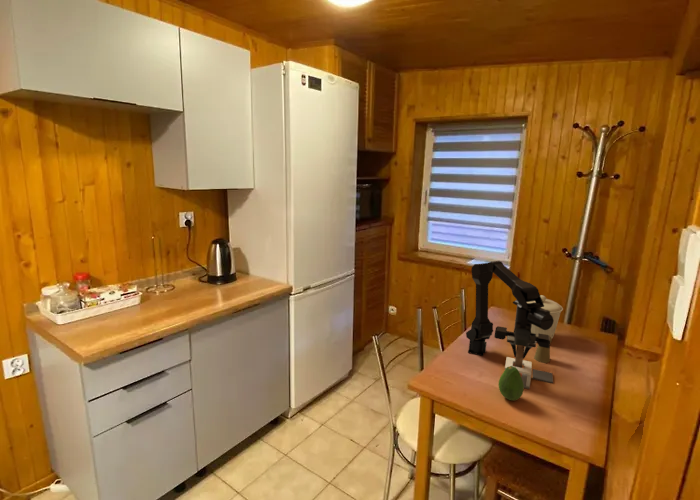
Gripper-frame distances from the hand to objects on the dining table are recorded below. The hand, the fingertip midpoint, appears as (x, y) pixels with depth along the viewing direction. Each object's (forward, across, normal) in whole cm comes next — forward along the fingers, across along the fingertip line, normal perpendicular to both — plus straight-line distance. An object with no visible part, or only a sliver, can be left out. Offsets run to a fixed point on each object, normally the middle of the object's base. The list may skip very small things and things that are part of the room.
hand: (519, 357), depth 147 cm
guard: (+10, 0, 0) cm, 10 cm away
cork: (+10, +9, +22) cm, 26 cm away
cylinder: (+5, 0, 0) cm, 5 cm away
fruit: (+10, -2, -14) cm, 17 cm away
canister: (+10, +7, +44) cm, 46 cm away
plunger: (+7, 0, 0) cm, 7 cm away
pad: (+10, +9, +7) cm, 15 cm away
